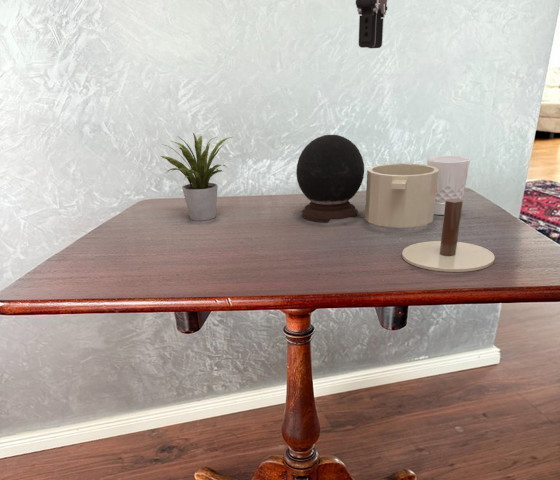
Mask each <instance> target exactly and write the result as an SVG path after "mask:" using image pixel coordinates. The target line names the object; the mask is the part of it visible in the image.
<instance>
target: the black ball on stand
mask: <svg viewBox="0 0 560 480" xmlns="http://www.w3.org/2000/svg"><path fill="white" fill-rule="evenodd" d="M364 176H365V163H364V159H363V156H362V154H361V151H360V150H359V148H358V147H357V146H356V144H355V143H353V142H352V141H351V140H350V139H348V138H346V137H344V136H342V135H340V134H325V135H321V136H318V137H316V138H314V139H313V140H311V141H310V142H309V143H308V144H307V145H305V147H304V148H303V150H302V151H301V152H300V155H299V157H298V160H297V163H296V181H297V184H298V187H299V189H300V191H301V192H302V194H303V195H304V196H305V197H306V198H307V199H308V200H309V201H310V202H309V203H308V204H306V205H305V206H304V208H303V210H301V217H302V218H303V219H304V220H307V221H311V222H314V223H315V222H316V223H329V222H330V221H331V220H342V219H343V220H344V219H349V218H357V217H358V212H359V211H358V209H357V208H356V206H355V205H354V204H352V203H351V202H350V200H351V199H353V198H354V196H355V195H356V194H357V193H358V191H359V189H360V188H361V186H362V185H363V180H364Z"/></svg>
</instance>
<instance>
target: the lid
mask: <svg viewBox="0 0 560 480" xmlns="http://www.w3.org/2000/svg"><path fill="white" fill-rule="evenodd" d="M463 203H464V202H463V199H462V200H461V199H447V200H446V202H445V211H444V215H443V220H442V227H441V238H440V240H432V241H431V240H430V241H423V242H417V243H413V244H410V245H407V246H406V247H404V249H402V251H401V257H402V259H403V261H405V262H406V263H408V264H410V265H412V266H414V267H417V268H419V269H424V270H428V271H435V272H443V273H444V272H445V273H466V272H467V273H468V272H474V271H475V272H476V271H479V270H484V269H486V268H489V267H491V266H492V265H493V264H494V262H495V260H496V259H495V258H496V257H495V254H494V253H493V252H492V251H491V250H489V249H487V248H485V247H484V246H480V245H477V244H473V243H468V242H463V241H459V233H460V226H461V219H462V212H463V211H462V210H463Z"/></svg>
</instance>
